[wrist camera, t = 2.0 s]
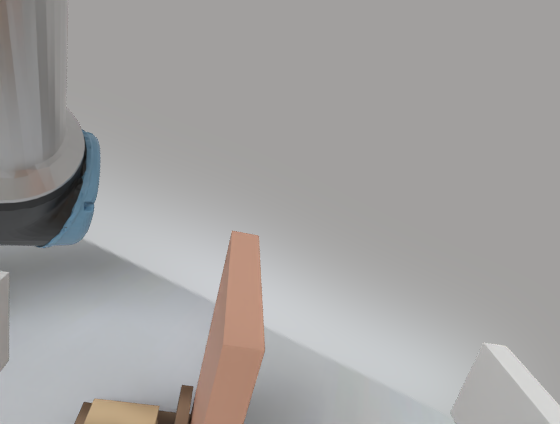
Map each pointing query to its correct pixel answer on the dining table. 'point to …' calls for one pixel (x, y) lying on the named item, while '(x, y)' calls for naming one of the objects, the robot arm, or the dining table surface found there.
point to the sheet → (233, 338)
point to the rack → (166, 420)
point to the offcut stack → (121, 413)
